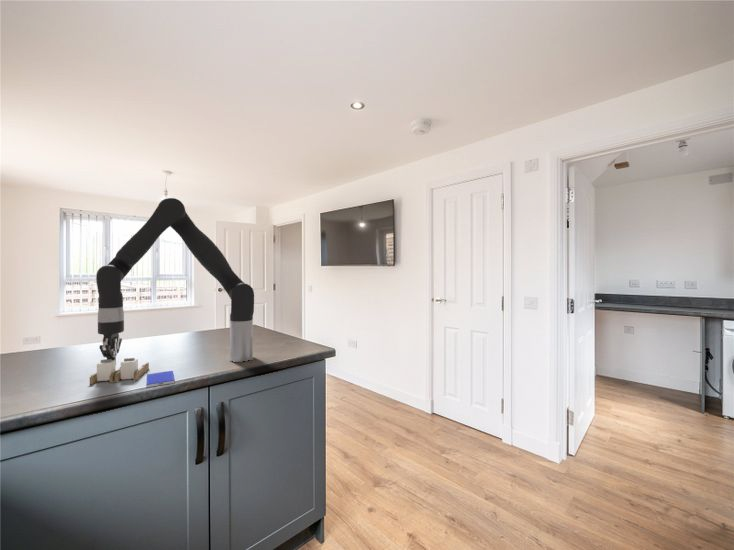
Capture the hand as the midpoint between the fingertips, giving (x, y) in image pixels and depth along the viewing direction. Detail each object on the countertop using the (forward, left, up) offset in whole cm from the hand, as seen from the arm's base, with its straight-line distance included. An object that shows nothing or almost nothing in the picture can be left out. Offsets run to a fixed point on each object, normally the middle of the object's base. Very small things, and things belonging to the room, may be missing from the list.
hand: (111, 367), depth 118 cm
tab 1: (0, +4, -3) cm, 5 cm away
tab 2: (-7, +5, -3) cm, 9 cm away
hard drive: (-18, +10, -4) cm, 21 cm away
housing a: (-7, +2, -3) cm, 8 cm away
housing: (0, +2, -3) cm, 4 cm away
